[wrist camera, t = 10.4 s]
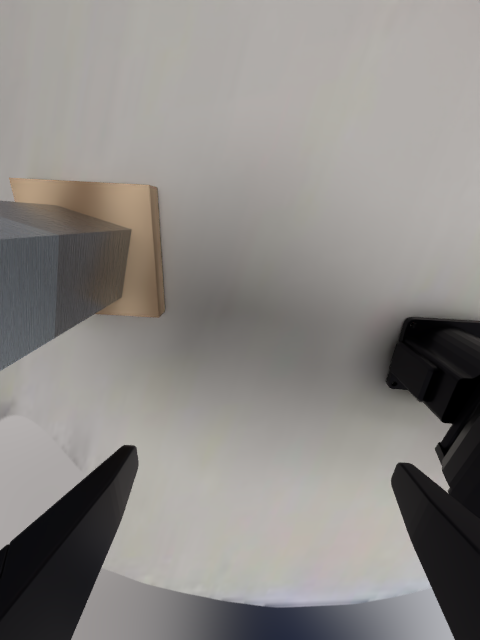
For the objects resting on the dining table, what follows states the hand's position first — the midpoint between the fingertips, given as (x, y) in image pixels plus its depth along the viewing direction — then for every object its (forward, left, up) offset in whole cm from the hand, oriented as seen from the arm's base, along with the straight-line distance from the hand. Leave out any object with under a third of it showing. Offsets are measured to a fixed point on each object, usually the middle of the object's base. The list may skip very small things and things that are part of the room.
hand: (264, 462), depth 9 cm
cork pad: (+12, -5, -13) cm, 18 cm away
